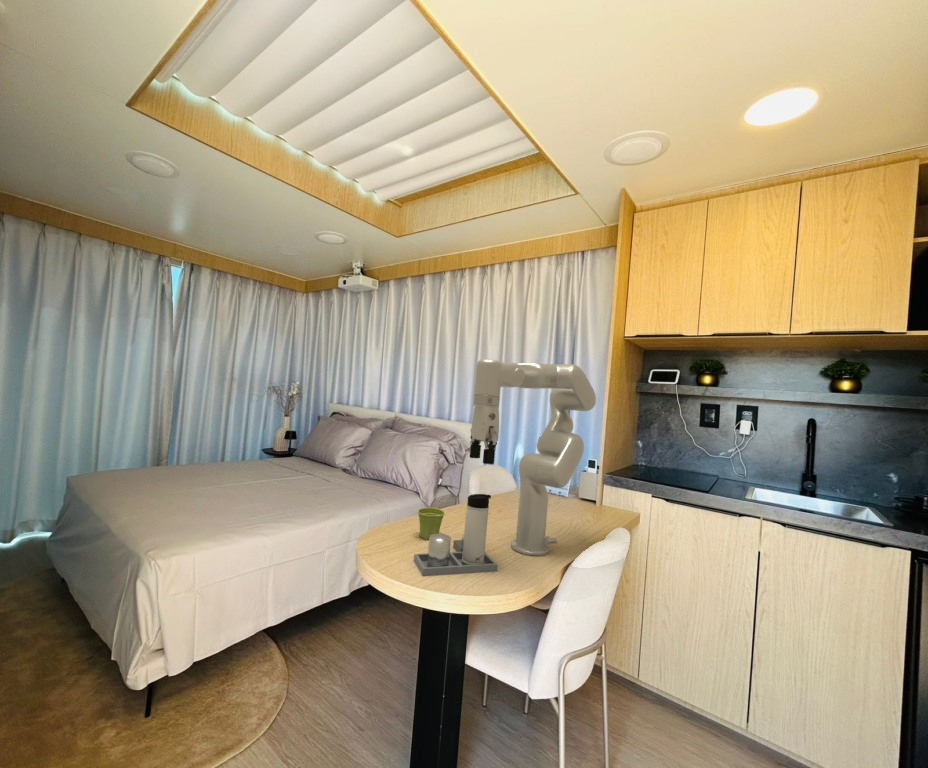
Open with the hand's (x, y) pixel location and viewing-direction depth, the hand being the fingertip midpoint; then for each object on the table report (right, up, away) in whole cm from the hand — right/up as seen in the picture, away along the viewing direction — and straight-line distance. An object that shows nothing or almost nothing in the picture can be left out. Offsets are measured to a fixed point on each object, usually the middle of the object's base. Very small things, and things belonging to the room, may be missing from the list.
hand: (481, 460), depth 116 cm
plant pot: (-17, -30, +20) cm, 40 cm away
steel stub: (-12, -28, -6) cm, 31 cm away
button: (-4, -30, +8) cm, 31 cm away
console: (-4, -30, +8) cm, 32 cm away
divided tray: (-8, -30, -4) cm, 31 cm away
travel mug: (-2, -29, -2) cm, 30 cm away
